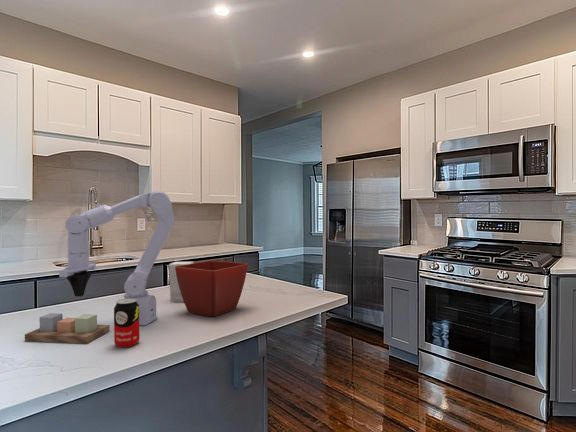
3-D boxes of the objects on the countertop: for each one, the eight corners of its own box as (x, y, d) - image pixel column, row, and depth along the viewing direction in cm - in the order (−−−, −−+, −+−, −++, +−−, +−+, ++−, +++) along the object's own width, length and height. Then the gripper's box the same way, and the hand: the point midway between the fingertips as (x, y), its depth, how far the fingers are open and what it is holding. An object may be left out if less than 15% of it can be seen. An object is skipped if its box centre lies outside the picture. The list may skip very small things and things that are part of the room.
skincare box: (195, 298, 148) (194, 261, 148) (189, 302, 141) (188, 263, 141) (175, 298, 149) (175, 261, 149) (169, 302, 142) (168, 263, 142)
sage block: (97, 329, 105) (96, 314, 105) (87, 334, 101) (87, 318, 101) (84, 328, 106) (84, 314, 106) (75, 333, 102) (74, 318, 102)
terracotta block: (79, 332, 106) (79, 318, 106) (70, 337, 102) (69, 322, 102) (67, 332, 106) (67, 317, 106) (57, 337, 102) (57, 321, 102)
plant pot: (211, 301, 143) (210, 259, 143) (249, 308, 134) (249, 263, 133) (173, 313, 127) (173, 266, 127) (214, 321, 117) (213, 270, 117)
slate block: (62, 328, 107) (62, 313, 107) (52, 332, 103) (52, 317, 103) (50, 327, 107) (50, 313, 107) (39, 332, 103) (39, 317, 103)
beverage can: (111, 344, 98) (110, 300, 98) (134, 338, 102) (133, 296, 102) (119, 350, 94) (118, 305, 93) (143, 344, 98) (142, 300, 98)
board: (109, 331, 108) (109, 325, 108) (87, 343, 98) (87, 336, 98) (52, 329, 110) (52, 323, 110) (24, 341, 100) (24, 334, 100)
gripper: (81, 250, 120) (82, 290, 120) (49, 255, 105) (50, 301, 105) (101, 250, 119) (102, 290, 119) (71, 256, 105) (72, 302, 105)
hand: (79, 295), depth 112 cm, fingers closed
